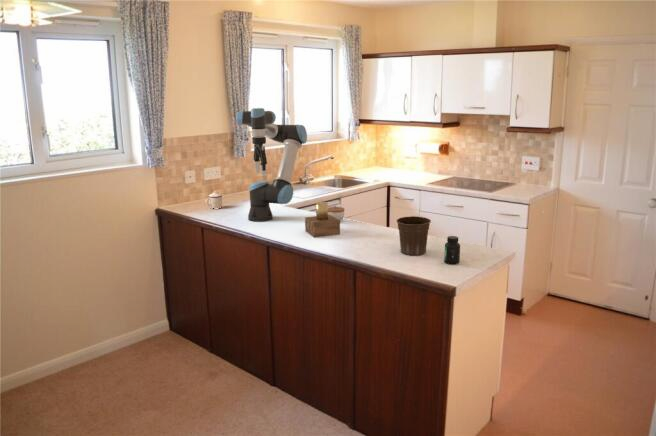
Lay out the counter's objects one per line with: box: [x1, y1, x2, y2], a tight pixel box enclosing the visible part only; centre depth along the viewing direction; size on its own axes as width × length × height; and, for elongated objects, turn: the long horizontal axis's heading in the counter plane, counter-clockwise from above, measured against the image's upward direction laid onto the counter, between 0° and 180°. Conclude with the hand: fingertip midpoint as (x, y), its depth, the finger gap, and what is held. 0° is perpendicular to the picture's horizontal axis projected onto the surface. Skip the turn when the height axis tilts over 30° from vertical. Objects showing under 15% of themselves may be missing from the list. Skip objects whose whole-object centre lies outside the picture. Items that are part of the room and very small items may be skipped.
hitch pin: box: [315, 201, 329, 220], centre depth 298 cm, size 6×6×16 cm
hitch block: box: [304, 215, 341, 238], centre depth 299 cm, size 15×15×8 cm
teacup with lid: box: [205, 190, 223, 209], centre depth 365 cm, size 12×9×12 cm
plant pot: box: [396, 216, 432, 257], centre depth 260 cm, size 16×16×16 cm
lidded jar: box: [328, 205, 345, 223], centre depth 324 cm, size 11×11×9 cm
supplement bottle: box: [443, 235, 461, 266], centre depth 245 cm, size 7×7×12 cm
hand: (260, 174), depth 303 cm, fingers open, 13 cm apart
